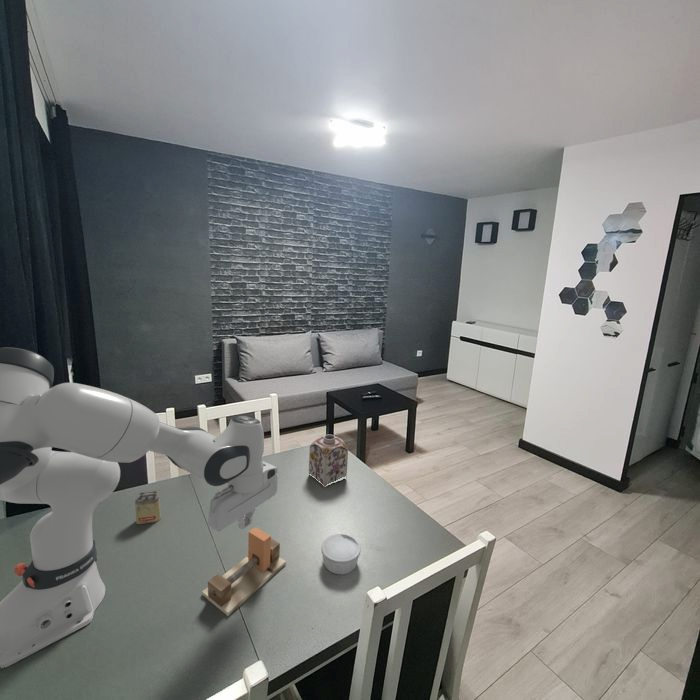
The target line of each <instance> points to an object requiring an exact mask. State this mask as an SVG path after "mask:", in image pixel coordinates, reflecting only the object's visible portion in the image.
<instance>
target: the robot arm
mask: <svg viewBox="0 0 700 700" xmlns="http://www.w3.org/2000/svg"><path fill="white" fill-rule="evenodd" d="M54 379H55V368H54V366H53V364H52V363H51V362H49V360H47V359H46V358H45V357H44V356H42V355H41V354H38V353H37V352H34V351H31V350H28V349H25V348H19V347H7V346H6V347H5V346H4V347H0V501H2V502H8V503H14V504H32V505H34V504H37V505H38V504H39V505H41V504H42V505H45V504H46V505H49V506H50V507H51V511H50V512H48V513H46V514H45V515H43V516H42V517H41V518H40V519H38V520H37V522H36V523H35V524H34V525H33V528H32V529H31V531H30V534H29V540H30V548H31V550H30V551H31V555H32V556H31V557H32V558H31V559H32V560H31V562H30V564H29V565H28V566H27V564H26V563H24V562H20V563H18V564H17V565H16V566H15V567H14V569H13V571H14V572H15V574H16V575H17V577H22V580H21V581H20V582H19V583H18V584H17V586H15V587H14V588H13V589H12V590H11V591H10V592H9V593H8V594H7V595H6V596H5V597H4V598H3V599H2V600H1V601H0V667H1V668H0V669H5V668H8V667H10V666H11V665H14V664H16V663H18V662H19V661H21V660H22V659H25V658H27V657H29V656H31V655H33V654H35V653H36V652H38V651H40V650H41V649H42V650H43V649H44V648H46V647H47V646H49V645H52V644H54V643H56V642H57V641H59V640H61V639H63V638H65V637H66V636H69V635H71V634H72V633H75V632H76V631H78V630H80V629H82V628H84V627H85V626H87V625H90V623H91V622H92V620H93V618H94V616H95V615H94V614H95V612H96V610H97V608H98V607H99V605H100V604H101V603H102V601H103V600H104V597H105V594H106V589H107V588H106V585H105V583H104V581H103V580H102V578H101V576H100V573H99V569H98V566H97V561H98V550H97V545H96V541H95V539H94V537H93V536H94V535H93V515H94V512H95V510H96V508H97V506H98V505H99V504H100V503H101V502H103V501H104V500H106V499H107V498H109V497H110V496H111V495H112V494H113V492H114V491H115V490H116V489H117V487H118V484H119V482H120V479H121V468H120V465H119V463H127V464H128V463H132V462H133V463H134V462H135V461H137V460H140V459H142V457H144V456H145V455H146V454H148V452H151V453H152V452H153V453H157V454H159V455H165V456H166V457H167V458H168V459H169V461H170V462H171V463H172V464H173V465H175V466H176V467H177V468H180V469H182V470H184V471H186V472H188V473H189V474H191V475H192V476H193V477H196V478H197V479H199V480H201V481H202V482H204V483H206V485H209V486H213V487H221V486H223V485H225V484H226V485H227V487H225V488H223V489H222V490H219V491H217V492H216V493H215V494H214V496H213V498H211V500H210V502H209V504H210V505H209V509H208V518H207V519H208V520H207V524H208V527H210V529H212V530H214V531H216V532H221V531H223V530H224V529H226V528H227V527H229V526H230V525H232V524H233V523H235V522H236V521H237V523H238V524H237V525H238V528H239V529H241V530H244V529H245V528H247V527H248V526H250V525H251V524H253V523H252V521H253V517H254V514H255V512H256V508H257V507H259V506H261V505H263V504H264V503H266V502H267V501H269V500H270V499H271V498H272V497H274V496H275V495H276V494H277V492H278V476H277V473H278V467H277V466H275V465H274V464H271V463H268V462H266V461H264V460H263V454H264V451H265V434H264V428H263V425H262V422H261V421H260V420H259V419H257V418H255V417H252V416H248V415H236V416H234V417H233V416H232V418H230V420H229V424H228V425H227V427H226V428H225V429H224V430H223V431H222V432H221V433H220V434H219V435H218V436H215V435H213V434H212V433H210V432H208V431H207V430H206V429H203V428H201V427H198V426H190V427H175V426H172V425H169V424H167V423H163V422H161V421H160V418H159V415H158V414H157V413H156V412H154V411H153V410H151V409H150V408H148V407H147V406H145V405H143V404H141V403H140V402H138V401H137V400H133V399H131V398H130V397H127V396H124V395H122V394H119V393H117V392H112V391H110V390H107V389H103V388H100V387H95V386H92V385H87V384H84V383H83V384H82V383H77V382H63V383H59V384H56V385H54V384H53V383H54ZM53 385H54V386H53ZM53 448H57V449H62V450H64V451H59V450H58V451H57V450H52V449H53ZM4 667H5V668H4Z"/></svg>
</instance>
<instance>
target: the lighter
mask: <svg viewBox="0 0 700 700" xmlns="http://www.w3.org/2000/svg"><path fill="white" fill-rule="evenodd" d="M134 502H135V503H134V506H135V519H136V521H135V523H136V524H137V525H143V524H144V525H145V524H151V523H157V522H159V521H160V520H161V518H162V516H161V498H160V495H159V494H157V490H156V489H154V490H153V491H148V492H147V491H146V492H145V491H141V492H139V496H138V497H136V498H135V501H134Z"/></svg>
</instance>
